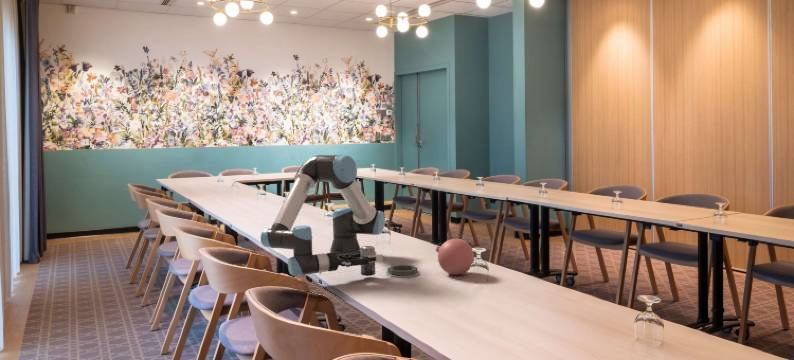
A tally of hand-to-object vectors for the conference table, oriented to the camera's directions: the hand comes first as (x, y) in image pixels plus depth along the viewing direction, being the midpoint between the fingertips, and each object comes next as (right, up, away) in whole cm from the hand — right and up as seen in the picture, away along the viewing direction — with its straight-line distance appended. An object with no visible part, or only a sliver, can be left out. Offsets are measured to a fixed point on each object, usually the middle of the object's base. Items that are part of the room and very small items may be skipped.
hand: (379, 256), depth 261 cm
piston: (-5, -7, -1) cm, 9 cm away
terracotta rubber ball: (+32, -8, +4) cm, 33 cm away
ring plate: (+10, -8, +5) cm, 14 cm away
